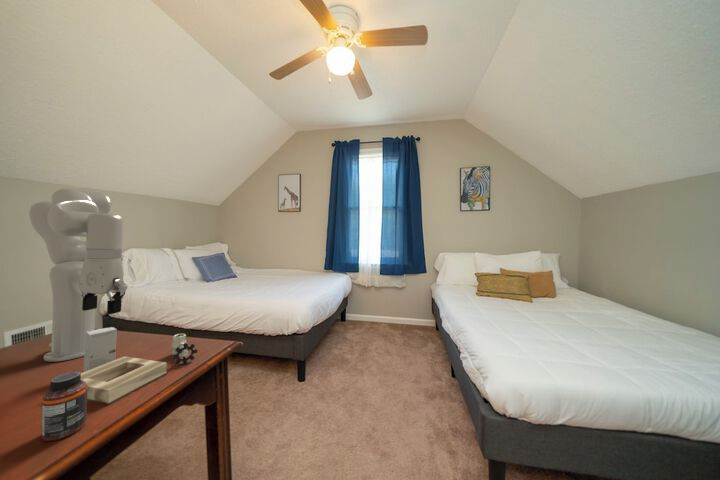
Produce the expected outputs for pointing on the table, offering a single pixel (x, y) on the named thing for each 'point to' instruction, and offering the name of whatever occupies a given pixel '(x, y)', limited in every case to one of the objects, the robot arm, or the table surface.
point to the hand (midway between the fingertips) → (101, 311)
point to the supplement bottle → (64, 406)
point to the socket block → (120, 378)
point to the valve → (182, 348)
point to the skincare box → (99, 347)
